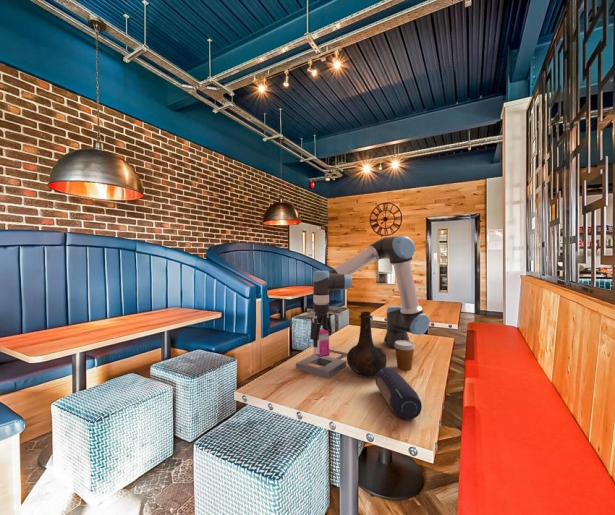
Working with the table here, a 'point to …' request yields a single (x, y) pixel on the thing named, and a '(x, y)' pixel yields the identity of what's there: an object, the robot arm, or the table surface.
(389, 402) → the portable speaker
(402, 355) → the disposable coffee cup
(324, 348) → the supplement box
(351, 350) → the glass bottle
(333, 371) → the socket plate
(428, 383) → the table surface
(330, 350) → the flat grey square frame
